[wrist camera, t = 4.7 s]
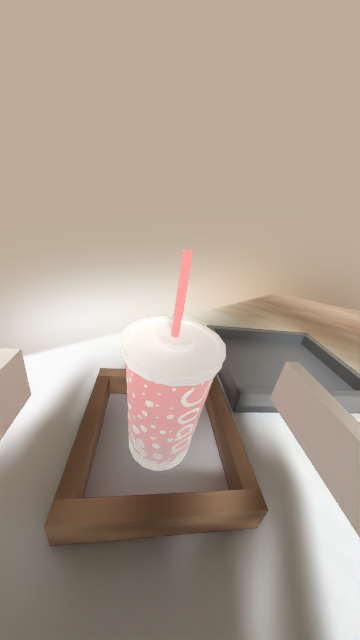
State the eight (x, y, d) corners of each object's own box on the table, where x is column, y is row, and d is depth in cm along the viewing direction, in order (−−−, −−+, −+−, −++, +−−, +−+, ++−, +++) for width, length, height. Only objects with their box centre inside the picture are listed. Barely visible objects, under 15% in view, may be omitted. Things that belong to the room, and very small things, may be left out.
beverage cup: (125, 500, 12) (140, 258, 6) (112, 415, 17) (113, 234, 11) (213, 465, 15) (283, 268, 9) (180, 400, 20) (210, 245, 14)
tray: (300, 345, 34) (306, 333, 33) (377, 413, 22) (389, 397, 21) (204, 338, 31) (207, 325, 30) (234, 412, 19) (240, 393, 18)
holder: (210, 387, 22) (214, 372, 21) (256, 527, 12) (268, 510, 11) (100, 384, 20) (100, 368, 19) (49, 545, 10) (44, 526, 9)
